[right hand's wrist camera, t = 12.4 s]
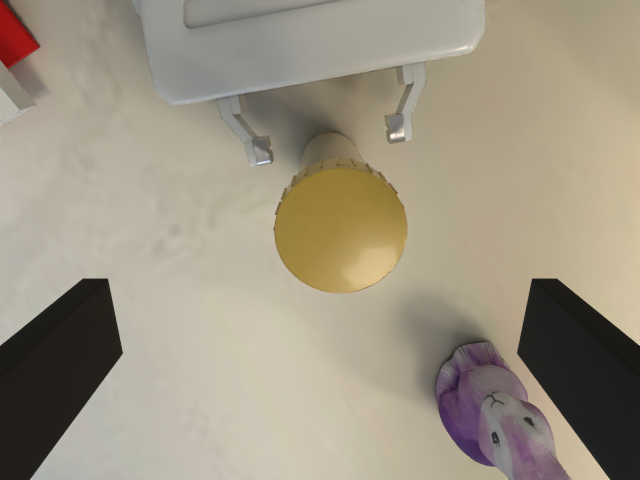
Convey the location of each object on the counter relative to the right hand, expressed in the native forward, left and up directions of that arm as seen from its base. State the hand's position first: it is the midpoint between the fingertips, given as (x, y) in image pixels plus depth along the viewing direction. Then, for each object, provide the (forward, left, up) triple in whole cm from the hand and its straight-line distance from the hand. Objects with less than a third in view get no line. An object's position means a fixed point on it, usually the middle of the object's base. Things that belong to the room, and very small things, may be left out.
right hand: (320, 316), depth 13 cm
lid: (0, -1, -5) cm, 5 cm away
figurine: (-22, +13, -23) cm, 35 cm away
